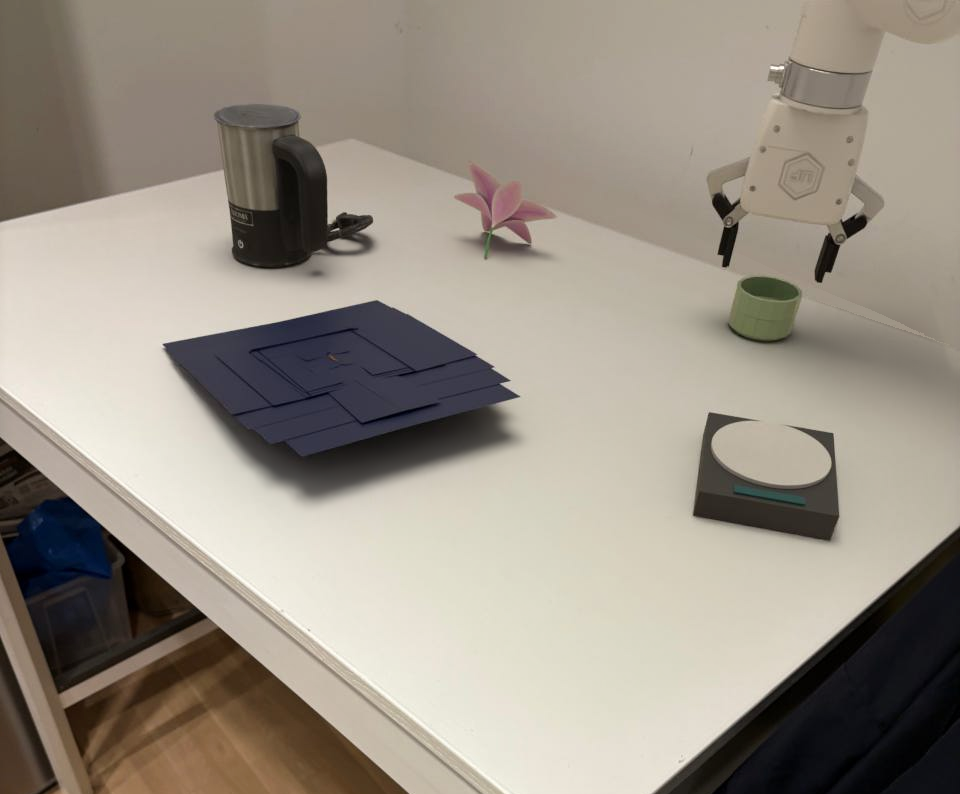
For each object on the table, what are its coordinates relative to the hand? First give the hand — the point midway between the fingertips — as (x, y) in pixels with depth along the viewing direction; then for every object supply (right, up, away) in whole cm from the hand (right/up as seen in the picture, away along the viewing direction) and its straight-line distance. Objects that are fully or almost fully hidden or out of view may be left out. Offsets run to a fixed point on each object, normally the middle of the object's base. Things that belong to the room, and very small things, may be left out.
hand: (771, 270), depth 98 cm
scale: (-6, -25, -18) cm, 32 cm away
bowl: (0, -5, +4) cm, 6 cm away
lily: (-28, +9, +17) cm, 34 cm away
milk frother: (-52, +8, +14) cm, 54 cm away
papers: (-44, -15, -10) cm, 48 cm away
